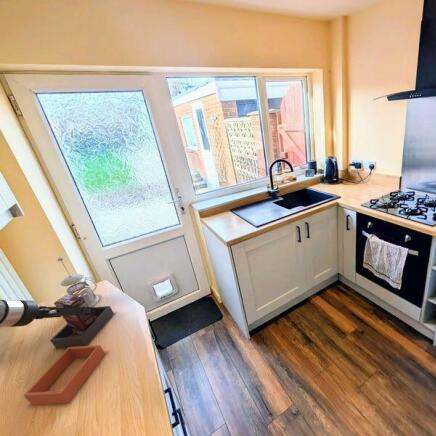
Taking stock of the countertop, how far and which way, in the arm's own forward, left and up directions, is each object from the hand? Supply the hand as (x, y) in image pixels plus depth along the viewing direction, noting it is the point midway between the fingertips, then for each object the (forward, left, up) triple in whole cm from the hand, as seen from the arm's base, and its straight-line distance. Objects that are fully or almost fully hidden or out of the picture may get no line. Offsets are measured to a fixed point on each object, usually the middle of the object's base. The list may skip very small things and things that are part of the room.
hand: (77, 312), depth 93 cm
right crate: (0, 0, -9) cm, 9 cm away
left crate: (+10, -19, -9) cm, 24 cm away
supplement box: (0, 0, -9) cm, 9 cm away
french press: (-12, +16, -9) cm, 22 cm away
